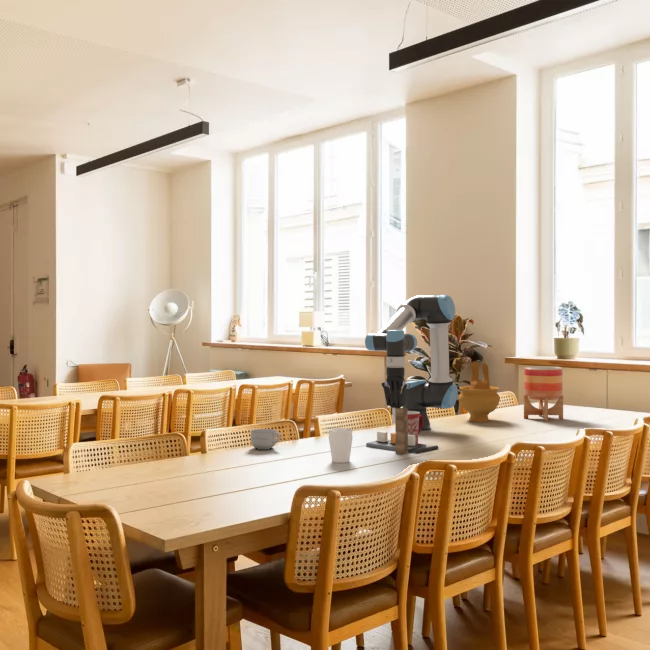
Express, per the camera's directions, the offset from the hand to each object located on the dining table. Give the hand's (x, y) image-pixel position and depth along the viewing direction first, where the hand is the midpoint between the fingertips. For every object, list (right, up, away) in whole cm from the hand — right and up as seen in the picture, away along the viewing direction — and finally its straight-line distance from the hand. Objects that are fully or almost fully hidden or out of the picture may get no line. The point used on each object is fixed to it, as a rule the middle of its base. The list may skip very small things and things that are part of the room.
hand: (395, 423), depth 299 cm
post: (+1, -11, -12) cm, 16 cm away
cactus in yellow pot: (+51, -9, +72) cm, 89 cm away
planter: (+85, -8, +76) cm, 114 cm away
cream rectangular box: (+5, -9, -4) cm, 11 cm away
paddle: (-5, -9, +5) cm, 11 cm away
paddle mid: (0, -9, 0) cm, 9 cm away
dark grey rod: (+12, -10, -8) cm, 17 cm away
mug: (+8, -10, +10) cm, 16 cm away
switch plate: (0, -10, 0) cm, 10 cm away
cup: (-24, -11, -26) cm, 37 cm away
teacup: (-54, -11, -1) cm, 55 cm away
